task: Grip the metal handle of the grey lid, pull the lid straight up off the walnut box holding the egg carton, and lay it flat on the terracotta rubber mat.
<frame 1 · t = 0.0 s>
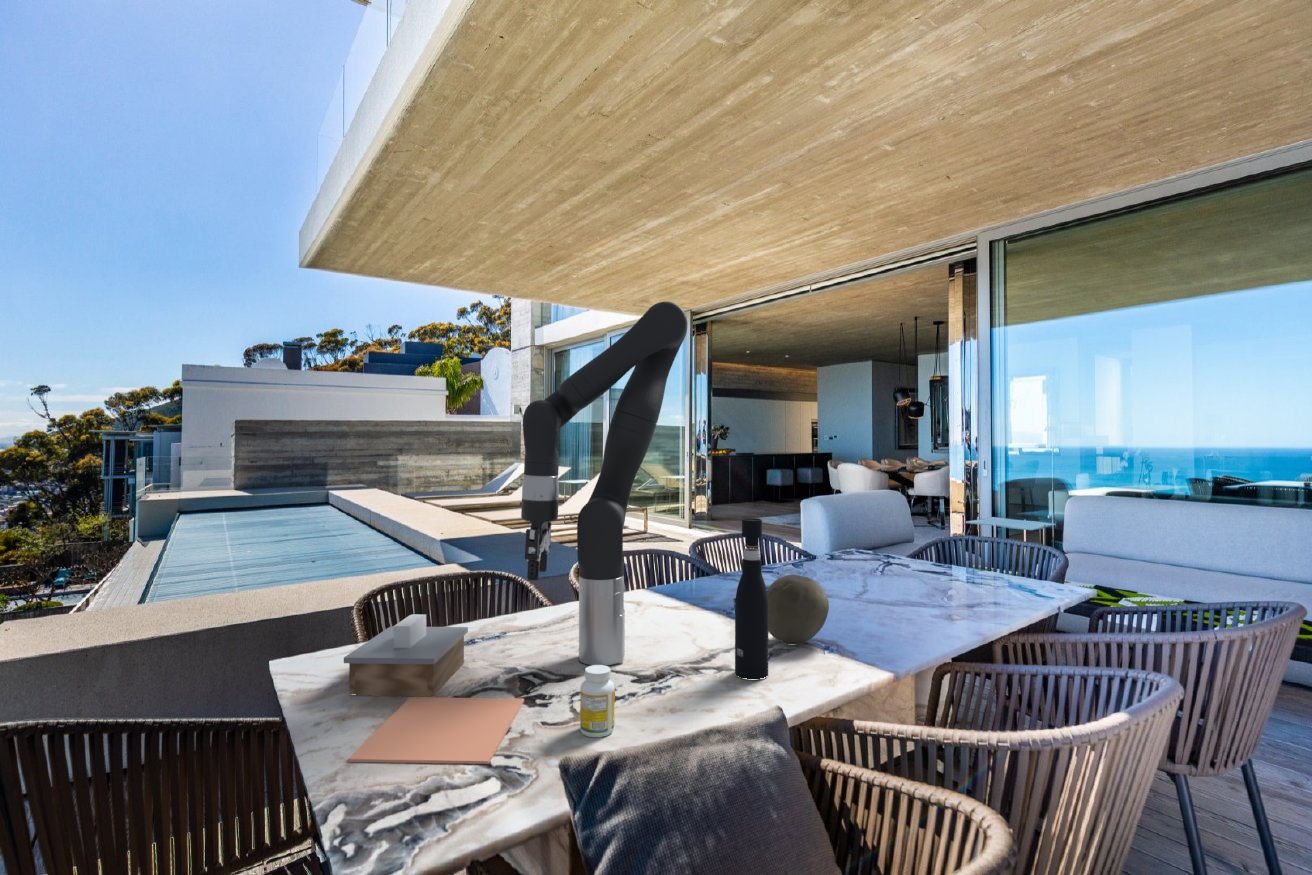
hand: (537, 575, 136), 17 cm above the table, tool pointing down, fingers open, 8 cm apart
mat: (445, 728, 103), on the table
box: (410, 678, 124), on the table
black water bottle: (751, 675, 127), on the table
cantaloupe: (794, 643, 146), on the table
lid: (410, 646, 124), point 6 cm above the table, touching box
supplement bottle: (597, 731, 102), on the table
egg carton: (410, 680, 124), resting in box
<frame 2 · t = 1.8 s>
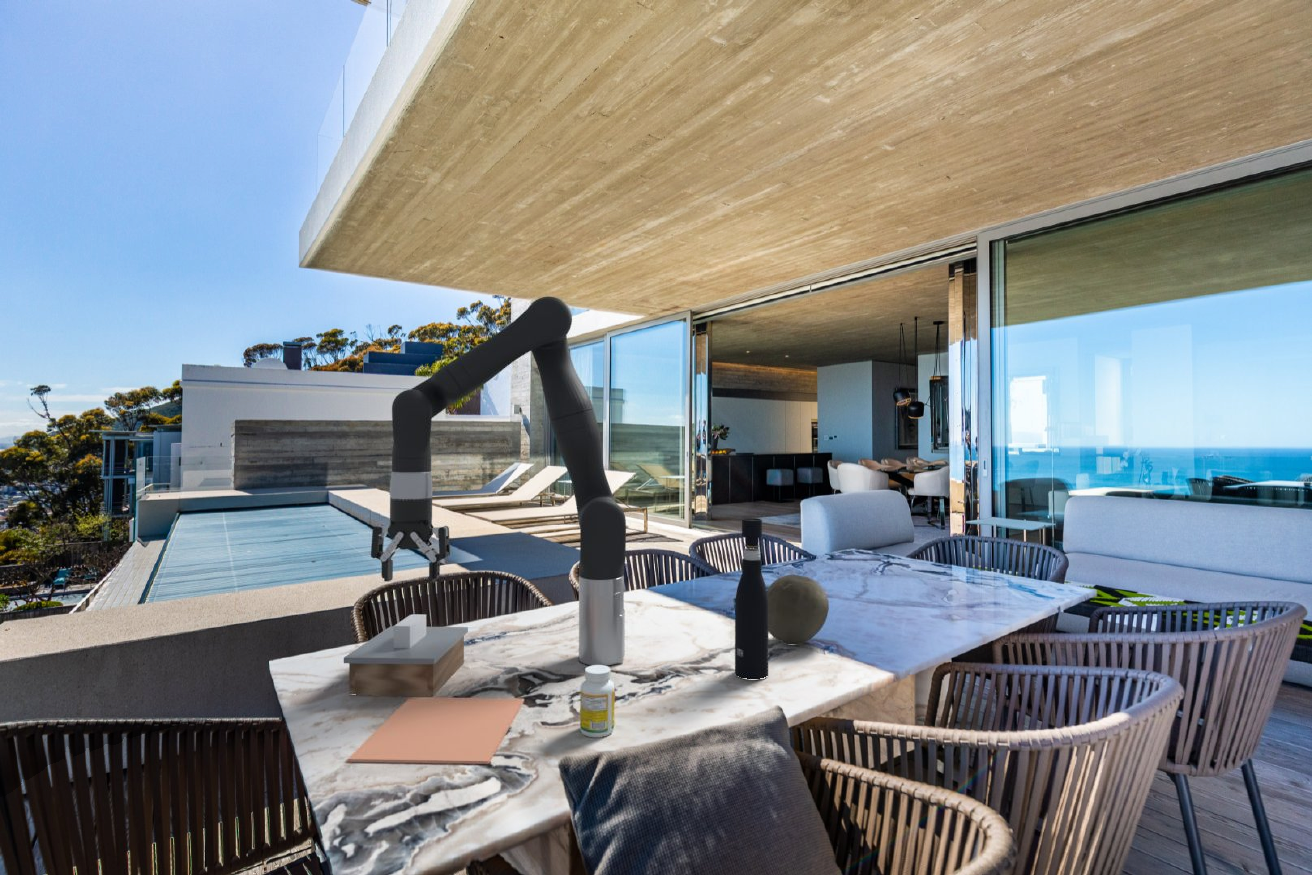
hand: (410, 580, 124), 18 cm above the table, tool pointing down, fingers open, 8 cm apart
nothing on the table moved.
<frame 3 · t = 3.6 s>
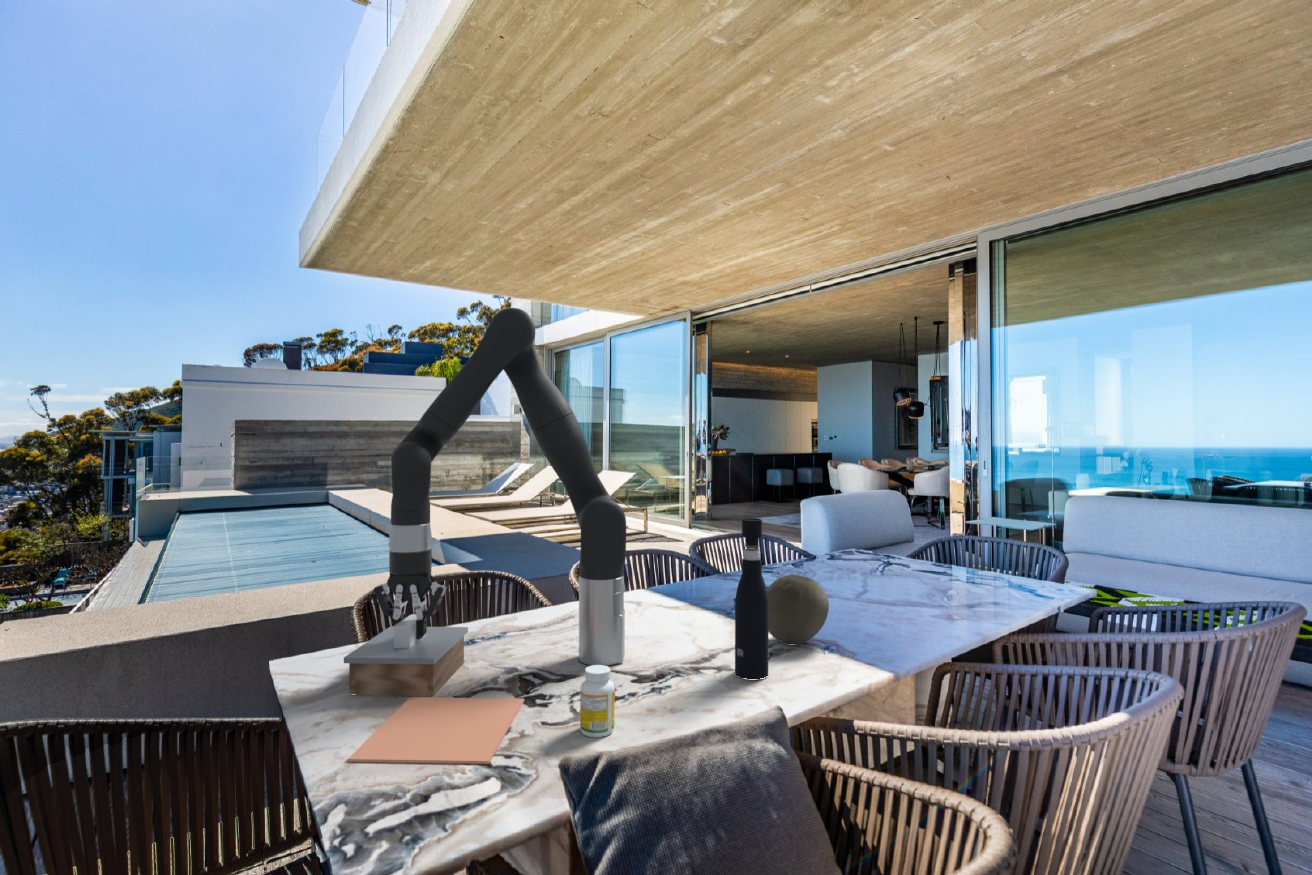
hand: (410, 637, 124), 8 cm above the table, tool pointing down, fingers closed on lid, 3 cm apart
lid: (410, 646, 124), point 6 cm above the table, touching box, gripper
everything else where it was.
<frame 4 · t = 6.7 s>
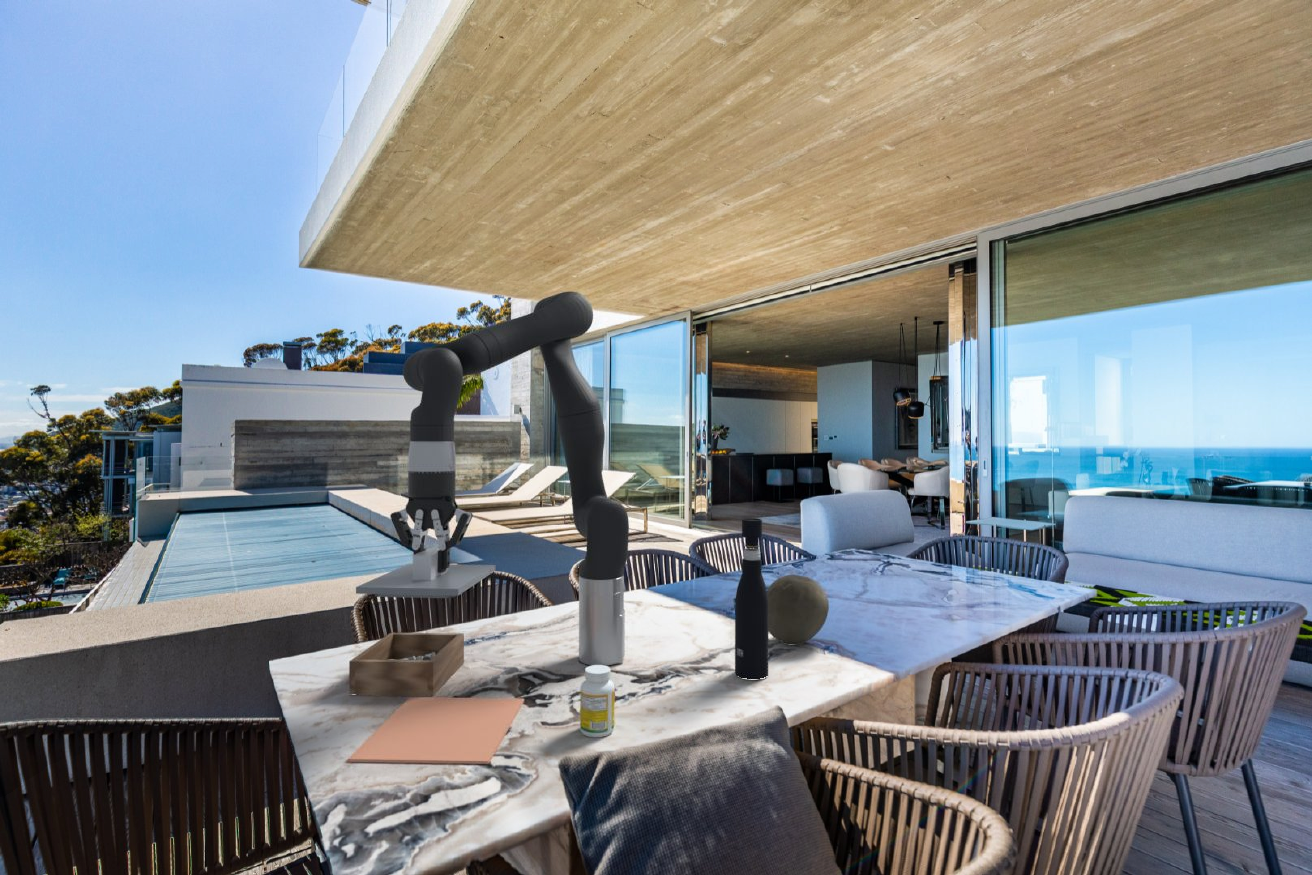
hand: (431, 571, 110), 23 cm above the table, tool pointing down, fingers closed on lid, 3 cm apart
lid: (431, 581, 110), point 22 cm above the table, touching gripper
everything else where it was.
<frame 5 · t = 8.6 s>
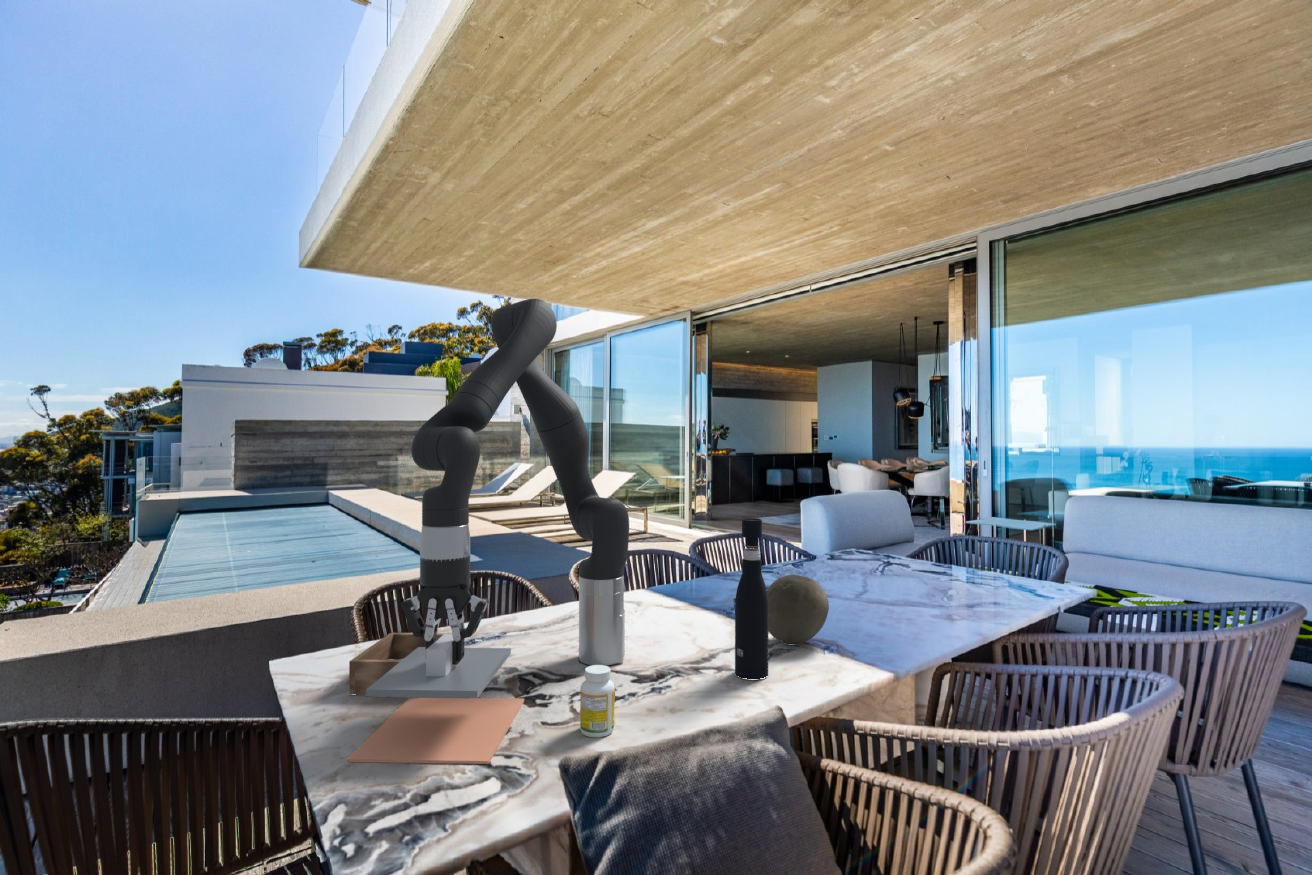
hand: (444, 662, 103), 10 cm above the table, tool pointing down, fingers closed on lid, 3 cm apart
lid: (445, 673, 103), point 9 cm above the table, touching gripper
everything else where it was.
when the fingers open (5 cm above the table, at t = 10.2 s): lid drops 1 cm, resting on mat.
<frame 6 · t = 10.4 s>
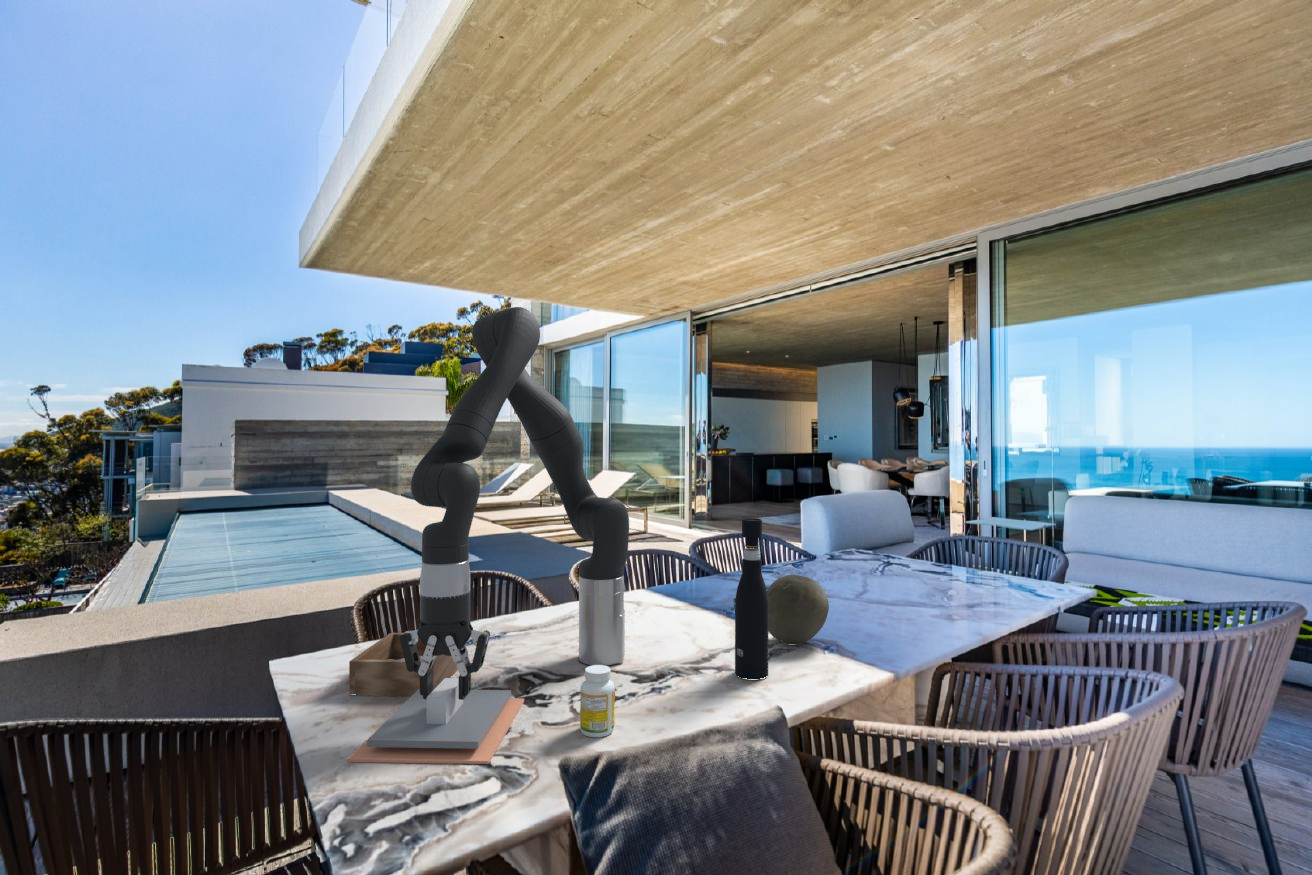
hand: (445, 697, 103), 5 cm above the table, tool pointing down, fingers open, 5 cm apart
lid: (445, 719, 103), point 1 cm above the table, touching mat
everything else where it was.
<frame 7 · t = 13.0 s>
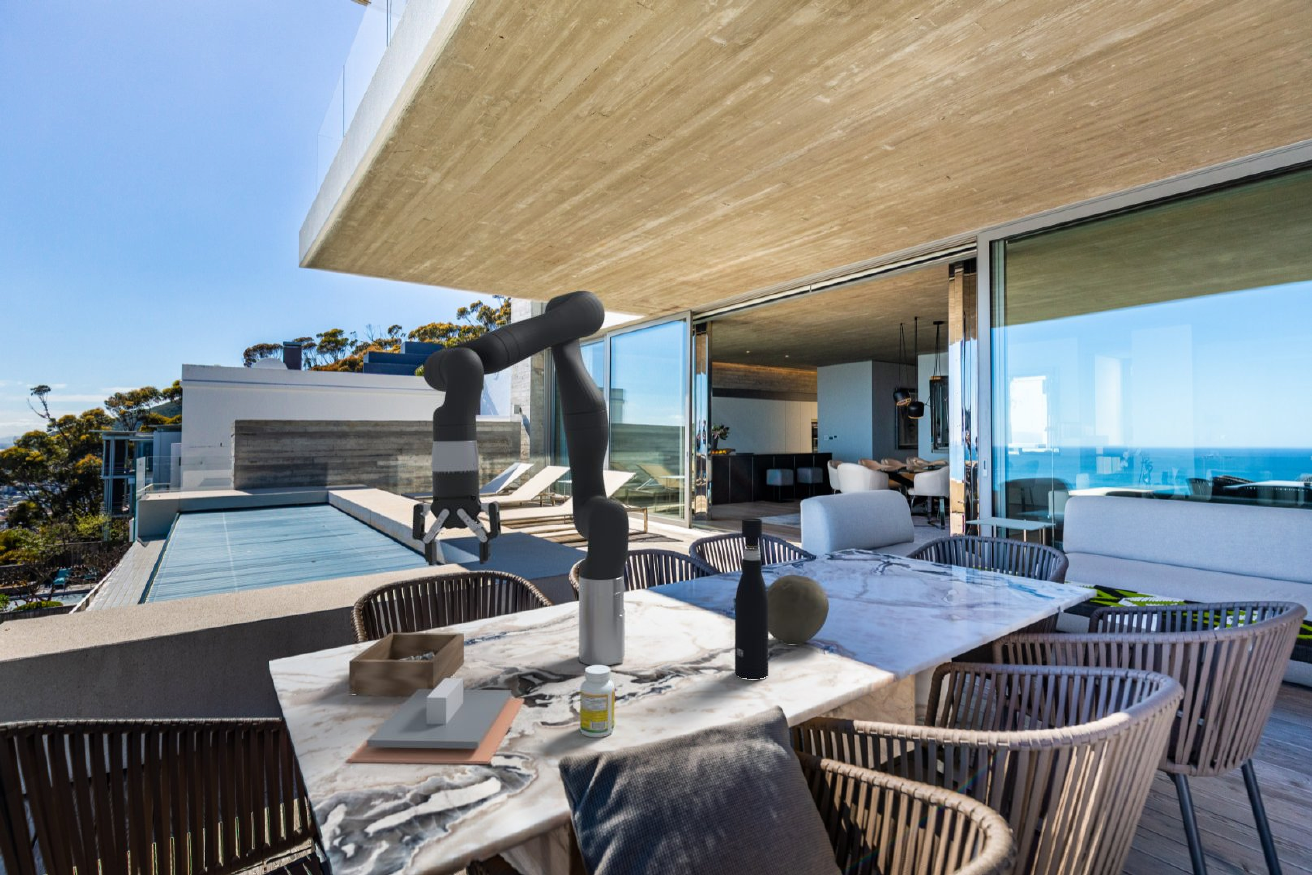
hand: (457, 564, 111), 24 cm above the table, tool pointing down, fingers open, 8 cm apart
nothing on the table moved.
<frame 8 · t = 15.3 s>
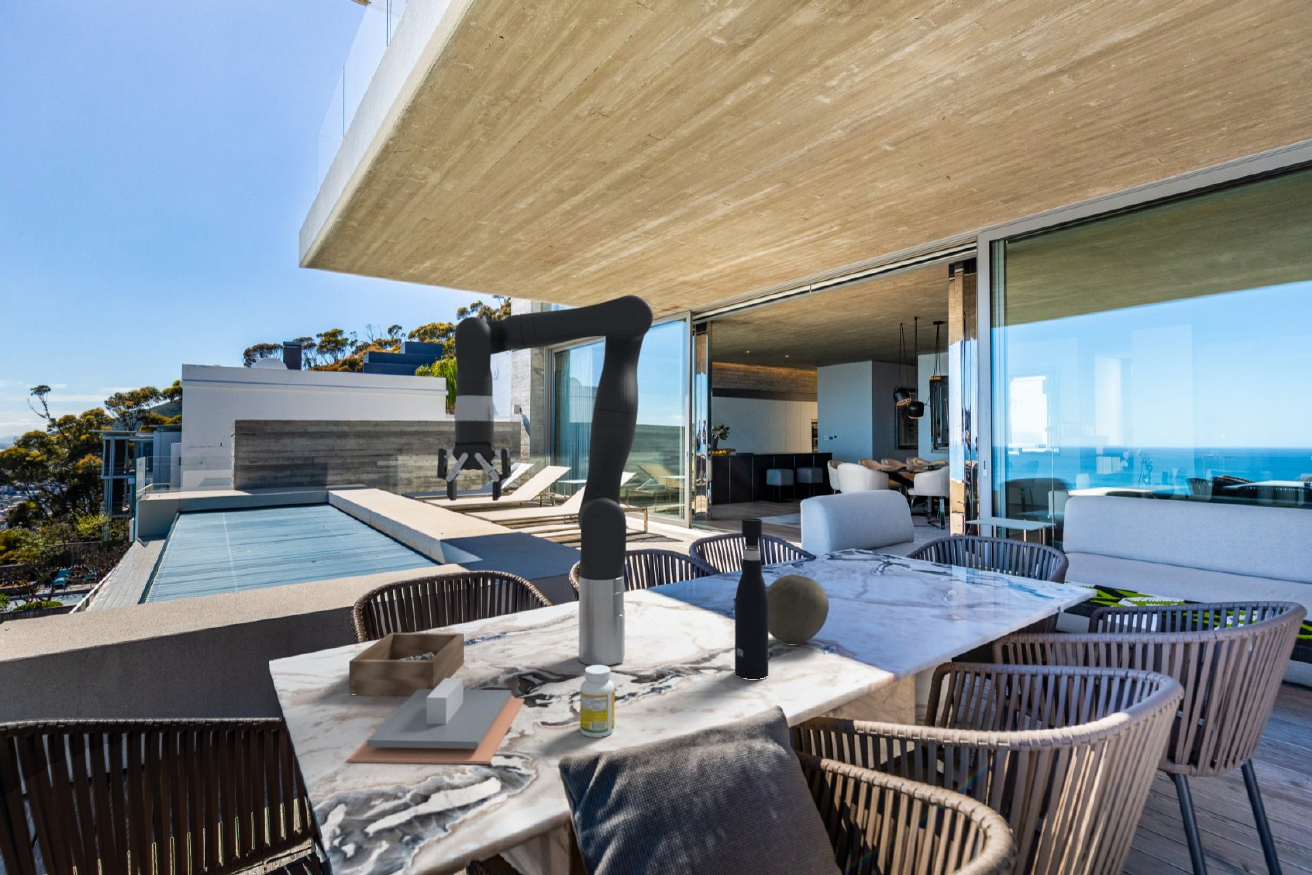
hand: (474, 500, 131), 33 cm above the table, tool pointing down, fingers open, 8 cm apart
nothing on the table moved.
at the end: lid inside the target area on the mat (0.1 cm from its centre), point 1.4 cm above the mat's base; lid tilted 0°; lid touching mat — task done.
